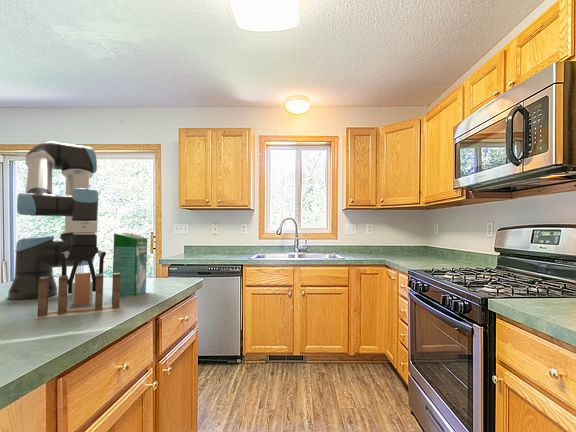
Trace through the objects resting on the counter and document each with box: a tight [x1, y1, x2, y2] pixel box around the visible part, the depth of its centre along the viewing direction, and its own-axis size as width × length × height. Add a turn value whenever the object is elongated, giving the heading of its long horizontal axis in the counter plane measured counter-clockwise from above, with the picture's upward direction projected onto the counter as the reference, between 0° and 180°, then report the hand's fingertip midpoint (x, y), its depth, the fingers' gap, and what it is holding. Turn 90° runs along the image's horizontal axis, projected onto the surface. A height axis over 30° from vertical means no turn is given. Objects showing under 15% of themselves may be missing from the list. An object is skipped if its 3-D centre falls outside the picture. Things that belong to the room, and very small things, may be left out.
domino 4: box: [111, 272, 121, 309], centre depth 106 cm, size 4×2×11 cm, turn 31°
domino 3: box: [94, 273, 104, 311], centre depth 103 cm, size 4×2×11 cm, turn 31°
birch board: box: [33, 304, 122, 320], centre depth 101 cm, size 9×22×1 cm, turn 121°
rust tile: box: [73, 272, 91, 306], centre depth 110 cm, size 4×2×11 cm, turn 121°
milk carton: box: [112, 232, 148, 297], centre depth 128 cm, size 9×9×25 cm
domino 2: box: [57, 275, 69, 315], centre depth 98 cm, size 4×2×11 cm, turn 31°
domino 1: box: [36, 277, 49, 317], centre depth 96 cm, size 4×2×11 cm, turn 31°
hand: (82, 302), depth 110 cm, fingers closed on rust tile, 4 cm apart
